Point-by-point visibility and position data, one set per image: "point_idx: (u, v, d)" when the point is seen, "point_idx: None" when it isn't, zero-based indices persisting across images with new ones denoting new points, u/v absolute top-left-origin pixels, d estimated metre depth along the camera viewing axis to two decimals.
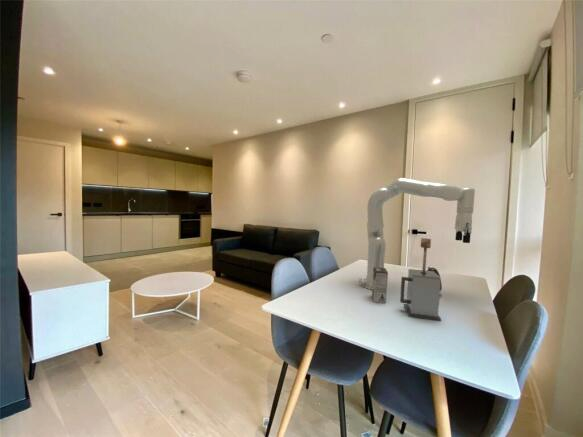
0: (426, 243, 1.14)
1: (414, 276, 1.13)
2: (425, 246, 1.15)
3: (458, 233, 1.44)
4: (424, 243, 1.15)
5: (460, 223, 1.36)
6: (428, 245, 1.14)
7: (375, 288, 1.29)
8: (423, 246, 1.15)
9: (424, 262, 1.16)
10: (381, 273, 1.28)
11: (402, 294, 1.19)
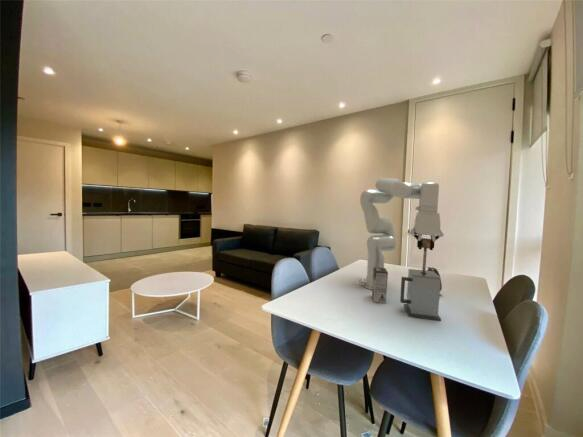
0: (426, 243, 1.14)
1: (414, 276, 1.13)
2: (425, 246, 1.15)
3: None
4: (424, 243, 1.15)
5: (436, 225, 1.12)
6: (428, 245, 1.14)
7: (375, 288, 1.29)
8: (423, 246, 1.15)
9: (424, 262, 1.16)
10: (381, 273, 1.28)
11: (402, 294, 1.19)
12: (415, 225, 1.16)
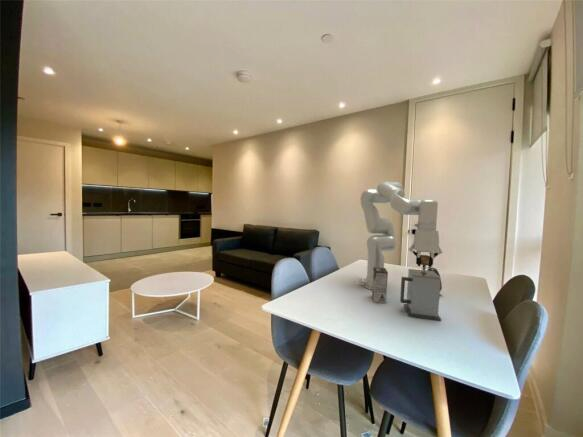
0: (425, 260, 1.15)
1: (414, 276, 1.13)
2: (424, 263, 1.15)
3: (419, 257, 1.17)
4: (423, 260, 1.15)
5: (434, 243, 1.13)
6: (427, 262, 1.15)
7: (375, 288, 1.29)
8: (422, 263, 1.16)
9: None
10: (381, 273, 1.28)
11: (402, 294, 1.19)
12: (414, 242, 1.16)
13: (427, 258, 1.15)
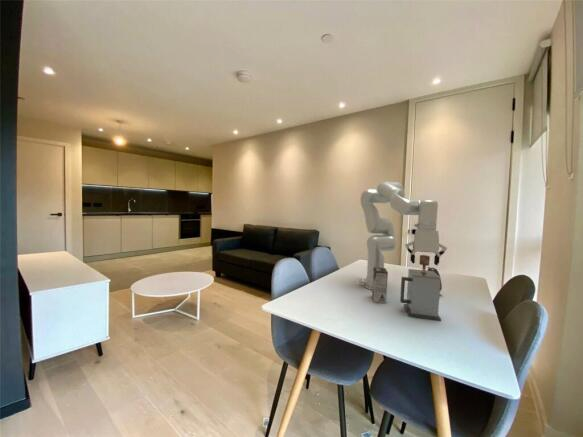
0: (425, 260, 1.15)
1: (414, 276, 1.13)
2: (424, 263, 1.15)
3: None
4: (423, 260, 1.15)
5: (434, 243, 1.13)
6: (427, 262, 1.15)
7: (375, 288, 1.29)
8: (422, 263, 1.16)
9: None
10: (381, 273, 1.28)
11: (402, 294, 1.19)
12: (414, 242, 1.16)
13: (427, 258, 1.15)
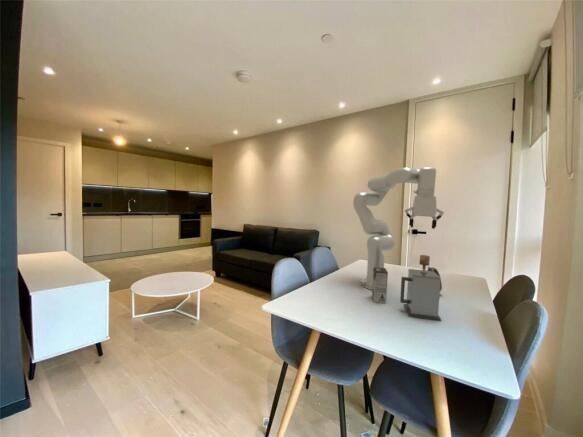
0: (425, 260, 1.15)
1: (414, 276, 1.13)
2: (424, 263, 1.15)
3: (412, 219, 1.26)
4: (423, 260, 1.15)
5: (432, 208, 1.21)
6: (427, 262, 1.15)
7: (375, 288, 1.29)
8: (422, 263, 1.16)
9: None
10: (381, 273, 1.28)
11: (402, 294, 1.19)
12: (413, 207, 1.25)
13: (427, 258, 1.15)
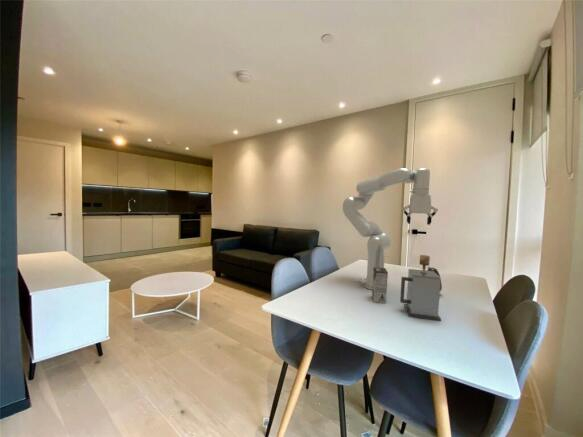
0: (425, 260, 1.15)
1: (414, 276, 1.13)
2: (424, 263, 1.15)
3: (409, 216, 1.36)
4: (423, 260, 1.15)
5: (427, 205, 1.32)
6: (427, 262, 1.15)
7: (375, 288, 1.29)
8: (422, 263, 1.16)
9: None
10: (381, 273, 1.28)
11: (402, 294, 1.19)
12: (410, 205, 1.35)
13: (427, 258, 1.15)
